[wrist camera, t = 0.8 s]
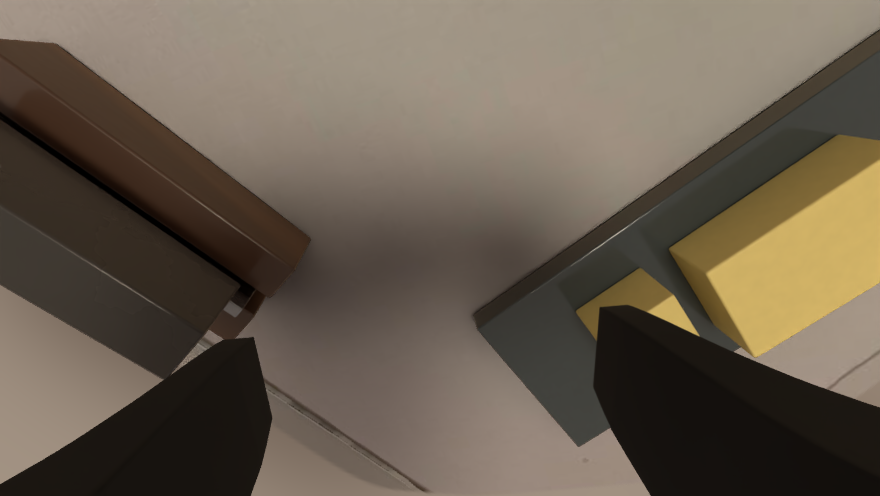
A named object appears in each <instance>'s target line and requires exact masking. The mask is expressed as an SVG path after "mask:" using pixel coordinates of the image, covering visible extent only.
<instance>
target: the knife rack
mask: <svg viewBox="0 0 880 496" xmlns="http://www.w3.org/2000/svg"><path fill="white" fill-rule="evenodd" d="M0 112H1V113H2V114H4V115H5V116H6V117H8V118H9V119H11V120H12V121H14V122H15V123H17V124H18V125H19V126H21V127H22V128H24V129H25V130H27V131H28V132H30V133H31V134H32V135H34V136H35V137H37V138H38V139H40V140H41V141H43V142H44V143H45V144H47V145H48V146H50V147H51V148H53V149H54V150H56V151H57V152H58V153H60V154H61V155H63V156H64V157H66V158H67V159H69V160H70V161H71V162H73V163H74V164H76V165H77V166H79V167H80V168H82V169H83V170H85V171H86V172H87V173H89V174H90V175H92V176H93V177H95V178H96V179H98V180H99V181H100V182H102V183H103V184H105V185H106V186H108V187H109V188H111V189H112V190H113V191H115V192H116V193H118V194H119V195H121V196H122V197H124V198H125V199H126V200H128V201H129V202H131V203H132V204H134V205H135V206H137V207H138V208H139V209H141V210H142V211H144V212H145V213H147V214H148V215H150V216H151V217H152V218H154V219H155V220H157V221H158V222H160V223H161V224H163V225H164V226H166V227H167V228H168V229H170V230H171V231H173V232H174V233H176V234H177V235H179V236H180V237H181V238H183V239H184V240H186V241H187V242H189V243H190V244H192V245H193V246H194V247H196V248H197V249H199V250H200V251H202V252H203V253H205V254H206V255H207V256H209V257H210V258H212V259H213V260H215V261H216V262H218V263H219V264H220V265H222V266H223V267H225V268H226V269H228V270H229V271H231V272H232V273H233V274H235V275H236V276H238V277H239V278H241V279H242V280H244V281H245V282H247V283H248V284H249V285H251V286H252V287H254V288H255V289H256V291H255V292H254V294H253V295H252V297H251V298H250V300H249V301H248V303H247V304H246V306H245V307H244V309H243V310H242V311H241V313H240V314H239V315H238V316H237V317H233V316H232V315H230V314H229V313H227V312H226V311H224V310H223V311H222V312H221V314H220V315H219V316H218V318H217V319H216V320H215V322H214V323H213V324H212V326H211V327H210V328H209V330H210V331H212V332H214V333H215V334H217V335H218V336H220V337H221V338H223V339H225V340H227V339H235V338H236V337H237V336H238V335H239V333H240V332H241V331H242V330H243V329H244V328H245V327H246V325H247V324H248V323H249V322H250V321H251V320H252V319H253V318H254V316H255V315H256V313H257V311H258V310H259V308H260V306H261V304H262V303H263V301H264V299H265V298H266V296H267V297H269V298H270V297H272V296H273V295H274V294H275V292H276V291H277V290H278V289H279V288H280V287H281V286H282V285H283V283H284V282H285V281H286V280H287V279H288V278H289V277H290V275H291V274H292V273H293V272H294V271H295V269H296V267H297V265H298V263H299V262H300V260H301V258H302V256H303V254H304V252H305V250H306V248H307V246H308V245H309V243H310V241H311V239H310V237H308V236H307V235H306V234H304V233H303V232H302V231H300V230H299V229H298V228H297V227H295V226H294V225H293V224H291V223H290V222H289V221H287V220H286V219H285V218H283V217H282V216H281V215H279V214H278V213H277V212H276V211H274V210H273V209H272V208H270V207H269V206H268V205H266V204H265V203H264V202H262V201H261V200H260V199H258V198H257V197H256V196H255V195H253V194H252V193H251V192H249V191H248V190H247V189H245V188H244V187H243V186H241V185H240V184H239V183H237V182H236V181H235V180H234V179H232V178H231V177H230V176H228V175H227V174H226V173H224V172H223V171H222V170H220V169H219V168H218V167H216V166H215V165H214V164H213V163H211V162H210V161H209V160H207V159H206V158H205V157H203V156H202V155H201V154H199V153H198V152H197V151H195V150H194V149H193V148H192V147H190V146H189V145H188V144H186V143H185V142H184V141H182V140H181V139H180V138H178V137H177V136H176V135H174V134H173V133H172V132H171V131H169V130H168V129H167V128H165V127H164V126H163V125H161V124H160V123H159V122H157V121H156V120H155V119H153V118H152V117H151V116H150V115H148V114H147V113H146V112H144V111H143V110H142V109H140V108H139V107H138V106H136V105H135V104H134V103H132V102H131V101H130V100H129V99H127V98H126V97H125V96H123V95H122V94H121V93H119V92H118V91H117V90H115V89H114V88H113V87H111V86H110V85H109V84H107V83H106V82H105V81H104V80H102V79H101V78H100V77H98V76H97V75H96V74H94V73H93V72H92V71H90V70H89V69H88V68H86V67H85V66H84V65H83V64H81V63H80V62H79V61H77V60H76V59H75V58H73V57H72V56H71V55H69V54H68V53H67V52H65V51H64V50H63V49H62V48H60V47H59V46H58V45H56V44H54V43H45V42H33V41H20V40H8V39H0Z"/></svg>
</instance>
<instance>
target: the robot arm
mask: <svg viewBox="0 0 880 496" xmlns="http://www.w3.org/2000/svg"><path fill="white" fill-rule="evenodd" d="M593 388H594V391H595V393H596V395H597V398H598V400H599V403H600V405H601V408H602V410H603V412H604V414H605V417H606V419H607V421H608V423H609V425H610V428H611V430H612V431H613V433H614V435H615V437H616V438H617V440H618V442H619V444H620V445H621V447H622V449H623V450H624V452H625V454H626V455H627V457H628V459H629V460H630V462H631V464H632V465H633V467H634V469H635V470H636V472H637V474H638V475H639V477H640V479H641V480H642V482H643V484H644V485H645V487H646V488H647V490H648V492H649V493H650V495H651V496H880V407H877V406H873V405H870V404H867V403H864V402H861V401H858V400H856V399H853V398H850V397H847V396H844V395H841V394H838V393H836V392H833V391H830V390H827V389H824V388H821V387H818V386H816V385H813V384H810V383H808V382H805V381H802V380H800V379H797V378H794V377H792V376H789V375H787V374H785V373H782V372H780V371H777V370H775V369H772V368H770V367H768V366H765V365H763V364H760V363H758V362H756V361H753V360H751V359H748V358H746V357H744V356H742V355H739V354H737V353H735V352H733V351H730V350H728V349H726V348H724V347H721V346H719V345H717V344H715V343H713V342H711V341H708V340H706V339H704V338H702V337H700V336H698V335H696V334H693V333H691V332H689V331H687V330H685V329H683V328H681V327H679V326H676V325H674V324H672V323H670V322H668V321H666V320H664V319H661V318H659V317H657V316H655V315H653V314H650V313H648V312H646V311H643V310H641V309H638V308H636V307H633V306H630V305H618V306H606V307H599V319H598V331H597V343H596V356H595V368H594V380H593ZM271 422H272V414H271V410H270V406H269V401H268V397H267V393H266V388H265V384H264V380H263V375H262V371H261V367H260V362H259V358H258V353H257V349H256V345H255V340H254V337H250V338H238V339H227V340H222V341H220V342H219V343H217V344H215V345H214V346H212V347H210V348H209V349H207V350H206V351H204V352H203V353H201V354H200V355H198V356H197V357H196V358H194V359H193V360H191V361H190V362H188V363H187V364H186V365H184V366H183V367H181V368H180V369H179V370H177V371H176V372H175V373H173V374H172V375H170V376H169V377H167V378H166V379H165V380H163V381H162V382H160V383H159V384H158V385H156V386H155V387H153V388H152V389H150V390H149V391H148V392H146V393H145V394H143V395H142V396H141V397H139V398H138V399H136V400H135V401H133V402H132V403H130V404H129V405H128V406H126V407H124V408H123V409H121V410H120V411H118V412H117V413H115V414H114V415H112V416H111V417H109V418H108V419H106V420H105V421H103V422H102V423H100V424H99V425H97V426H96V427H94V428H93V429H91V430H90V431H88V432H87V433H85V434H84V435H82V436H80V437H79V438H77V439H76V440H74V441H73V442H71V443H70V444H68V445H66V446H65V447H63V448H61V449H60V450H58V451H57V452H55V453H53V454H52V455H50V456H48V457H47V458H45V459H44V460H42V461H40V462H38V463H37V464H35V465H33V466H31V467H29V468H28V469H26V470H24V471H23V472H21V473H19V474H17V475H16V476H14V477H12V478H10V479H9V480H7V481H5V482H3V483H2V484H0V496H251V493H252V490H253V487H254V485H255V482H256V479H257V477H258V474H259V471H260V468H261V465H262V461H263V457H264V453H265V449H266V445H267V440H268V435H269V431H270V427H271Z"/></svg>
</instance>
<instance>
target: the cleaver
mask: <svg viewBox="0 0 880 496" xmlns="http://www.w3.org/2000/svg"><path fill="white" fill-rule="evenodd" d="M0 285H1V286H3V287H5V288H7V289H8V290H10V291H11V292H13V293H15V294H17V295H18V296H20V297H22V298H23V299H25V300H27V301H29V302H30V303H32V304H34V305H35V306H37V307H39V308H41V309H42V310H44V311H46V312H48V313H49V314H51V315H53V316H54V317H56V318H58V319H60V320H61V321H63V322H65V323H66V324H68V325H70V326H72V327H73V328H75V329H77V330H78V331H80V332H82V333H84V334H85V335H87V336H89V337H91V338H93V339H94V340H96V341H97V342H99V343H101V344H103V345H104V346H106V347H108V348H109V349H111V350H113V351H115V352H117V353H118V354H120V355H122V356H123V357H125V358H127V359H129V360H130V361H132V362H134V363H136V364H137V365H139V366H141V367H142V368H144V369H146V370H147V371H149V372H151V373H152V374H154V375H156V376H158V377H159V378H161V379H164V380H165V379H166V378H167V377H169V376H170V375H171V374H172V372H173V371H174V370H175V369H176V368H177V367H178V365H179V364H180V363H181V362H182V361H183V360H184V358H185V357H186V356H187V355H188V354H189V353H190V351H191V350H192V349H193V348H194V347H195V346H196V344H197V343H198V342H199V341H200V340H201V339H202V337H203V336H204V335H205V334H206V332H207V331H208V330H209V328H210V327H211V326H212V324H213V323H214V322H215V320H216V319H217V318H218V316H219V315H220V314H221V312H222V311H223V310H224V311H226V312H227V313H229V314H230V315H232V316H233V317H237V316H238V315H239V314H240V313H241V311H242V310H243V309H244V307H245V306H246V304H247V303H248V301H249V300H250V298H251V297H252V295H253V294H254V292H255V291H256V289H255V288H254V287H252V286H251V285H249V284H248V283H247V282H245V281H244V280H242V279H241V278H239V277H238V276H236V275H235V274H233V273H232V272H231V271H229V270H228V269H226V268H225V267H223V266H222V265H220V264H219V263H218V262H216V261H215V260H213V259H212V258H210V257H209V256H207V255H206V254H205V253H203V252H202V251H200V250H199V249H197V248H196V247H194V246H193V245H192V244H190V243H189V242H187V241H186V240H184V239H183V238H181V237H180V236H179V235H177V234H176V233H174V232H173V231H171V230H170V229H168V228H167V227H166V226H164V225H163V224H161V223H160V222H158V221H157V220H155V219H154V218H152V217H151V216H150V215H148V214H147V213H145V212H144V211H142V210H141V209H139V208H138V207H137V206H135V205H134V204H132V203H131V202H129V201H128V200H126V199H125V198H124V197H122V196H121V195H119V194H118V193H116V192H115V191H113V190H112V189H111V188H109V187H108V186H106V185H105V184H103V183H102V182H100V181H99V180H98V179H96V178H95V177H93V176H92V175H90V174H89V173H87V172H86V171H85V170H83V169H82V168H80V167H79V166H77V165H76V164H74V163H73V162H71V161H70V160H69V159H67V158H66V157H64V156H63V155H61V154H60V153H58V152H57V151H56V150H54V149H53V148H51V147H50V146H48V145H47V144H45V143H44V142H43V141H41V140H40V139H38V138H37V137H35V136H34V135H32V134H31V133H30V132H28V131H27V130H25V129H24V128H22V127H21V126H19V125H18V124H17V123H15V122H14V121H12V120H11V119H9V118H8V117H6V116H5V115H4V114H2V113H1V112H0Z"/></svg>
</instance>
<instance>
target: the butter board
mask: <svg viewBox="0 0 880 496" xmlns="http://www.w3.org/2000/svg"><path fill="white" fill-rule="evenodd" d="M836 135H846V136H853V137H860V138H866V139H873V140H880V31H878V32H877V33H875V34H874V35H873V36H871V37H870V38H868V39H867V40H865V41H864V42H863V43H861V44H860V45H858V46H857V47H855V48H854V49H853V50H851V51H850V52H848V53H847V54H845V55H844V56H843V57H841V58H840V59H838V60H837V61H835V62H834V63H833V64H831V65H830V66H828V67H827V68H825V69H824V70H823V71H821V72H820V73H818V74H817V75H815V76H814V77H813V78H811V79H810V80H808V81H807V82H805V83H804V84H803V85H801V86H800V87H798V88H797V89H795V90H794V91H793V92H791V93H790V94H788V95H787V96H785V97H784V98H783V99H781V100H780V101H778V102H777V103H775V104H774V105H773V106H771V107H770V108H768V109H767V110H765V111H764V112H763V113H761V114H760V115H758V116H757V117H755V118H754V119H753V120H751V121H750V122H748V123H747V124H745V125H744V126H743V127H741V128H740V129H738V130H737V131H735V132H734V133H733V134H731V135H730V136H728V137H727V138H725V139H724V140H723V141H721V142H720V143H718V144H717V145H715V146H714V147H713V148H711V149H710V150H708V151H707V152H705V153H704V154H703V155H701V156H700V157H698V158H697V159H695V160H694V161H693V162H691V163H690V164H688V165H687V166H685V167H684V168H682V169H681V170H680V171H678V172H677V173H675V174H674V175H672V176H671V177H670V178H668V179H667V180H665V181H664V182H662V183H661V184H660V185H658V186H657V187H655V188H654V189H652V190H651V191H650V192H648V193H647V194H645V195H644V196H642V197H641V198H640V199H638V200H637V201H635V202H634V203H632V204H631V205H630V206H628V207H627V208H625V209H624V210H622V211H621V212H620V213H618V214H617V215H615V216H614V217H612V218H611V219H610V220H608V221H607V222H605V223H604V224H602V225H601V226H600V227H598V228H597V229H595V230H594V231H592V232H591V233H590V234H588V235H587V236H585V237H584V238H582V239H581V240H580V241H578V242H577V243H575V244H574V245H572V246H571V247H570V248H568V249H567V250H565V251H564V252H562V253H561V254H560V255H558V256H557V257H555V258H554V259H552V260H551V261H550V262H548V263H547V264H545V265H544V266H542V267H541V268H540V269H538V270H537V271H535V272H534V273H532V274H531V275H530V276H528V277H527V278H525V279H524V280H522V281H521V282H520V283H518V284H517V285H515V286H514V287H512V288H511V289H510V290H508V291H507V292H505V293H504V294H502V295H501V296H500V297H498V298H497V299H495V300H494V301H492V302H491V303H490V304H488V305H487V306H485V307H484V308H482V309H481V310H480V311H478V312H477V313H475V314H474V315H473V317H474V320H475V323H476V327H477V330H478V331H479V332H480V333H481V335H482V336H483V337H484V338H485V339H486V340H487V342H488V343H489V344H490V345H491V346H492V347H493V349H494V350H495V351H496V352H497V353H498V354H499V356H500V357H501V358H502V359H503V360H504V361H505V363H506V364H507V365H508V366H509V367H510V368H511V369H512V371H513V372H514V373H515V374H516V375H517V376H518V378H519V379H520V380H521V381H522V382H523V383H524V385H525V386H526V387H527V388H528V389H529V390H530V392H531V393H532V394H533V395H534V396H535V397H536V399H537V400H538V401H539V402H540V403H541V404H542V406H543V407H544V408H545V409H546V410H547V411H548V412H549V414H550V415H551V416H552V417H553V418H554V419H555V421H556V422H557V423H558V424H559V425H560V426H561V428H562V429H563V430H564V431H565V432H566V433H567V435H568V436H569V437H570V438H571V439H572V440H573V442H574V443H575V444H576V445H577V446H578V447H580V446H582V445H583V444H585V443H586V442H588V441H590V440H591V439H593V438H594V437H596V436H598V435H599V434H601V433H603V432H604V431H606V430H607V429H609V428H610V425H609V423H608V421H607V419H606V417H605V414H604V412H603V410H602V408H601V405H600V403H599V400H598V398H597V395H596V393H595V391H594V388H593V380H594V368H595V356H596V343H597V341H596V340H595V338H594V337H593V335H592V334H591V333H590V331H589V330H588V329H587V327H586V326H585V324H584V323H583V322H582V320H581V319H580V318H579V316H578V315H577V313H576V310H577V309H579V308H580V307H582V306H583V305H585V304H586V303H588V302H589V301H591V300H592V299H594V298H595V297H597V296H598V295H600V294H601V293H603V292H604V291H606V290H607V289H609V288H610V287H612V286H613V285H615V284H616V283H618V282H619V281H621V280H622V279H624V278H625V277H627V276H628V275H629V274H631V273H632V272H634V271H635V270H637V269H638V268H641V269H643V270H644V271H645V272H646V273H648V274H649V275H650V276H651V277H652V278H654V279H655V280H656V281H657V282H659V283H660V284H661V285H662V286H663V287H665V288H666V289H667V290H668V291H670V292H671V293H672V294H673V295H674V296H675V297H676V299H677V301H678V302H679V304H680V305H681V307H682V309H683V310H684V312H685V313H686V315H687V317H688V318H689V320H690V321H691V323H692V325H693V326H694V328H695V329H696V331H697V333H698V334H699V336H700V337H702V338H704V339H706V340H708V341H711V342H713V343H715V344H717V345H719V346H721V347H724V348H726V349H728V350H730V351H733V352H734V351H736V350H737V349H739V348H740V346H739V345H738V344H737V343H736V342H734V341H733V340H732V339H731V338H729V337H728V336H727V335H726V334H724V333H723V332H722V331H721V330H719V329H718V328H717V327H716V326H715V325H714V324H713V322H712V321H711V319H710V317H709V316H708V314H707V312H706V311H705V309H704V307H703V306H702V304H701V302H700V301H699V299H698V297H697V296H696V294H695V292H694V291H693V289H692V287H691V286H690V284H689V283H688V281H687V279H686V278H685V276H684V274H683V273H682V271H681V269H680V268H679V266H678V264H677V263H676V261H675V259H674V258H673V256H672V254H671V253H670V251H669V248H670V247H671V246H673V245H674V244H676V243H677V242H679V241H680V240H682V239H683V238H685V237H686V236H688V235H689V234H691V233H692V232H694V231H695V230H697V229H698V228H700V227H701V226H703V225H704V224H706V223H707V222H709V221H710V220H711V219H713V218H714V217H716V216H717V215H719V214H720V213H722V212H723V211H725V210H726V209H728V208H729V207H731V206H732V205H734V204H735V203H737V202H738V201H740V200H741V199H743V198H744V197H746V196H747V195H749V194H750V193H752V192H753V191H755V190H756V189H758V188H759V187H761V186H762V185H764V184H765V183H767V182H768V181H769V180H771V179H772V178H774V177H775V176H777V175H778V174H780V173H781V172H783V171H784V170H786V169H787V168H789V167H790V166H792V165H793V164H795V163H796V162H798V161H799V160H801V159H802V158H804V157H805V156H807V155H808V154H810V153H811V152H813V151H814V150H816V149H817V148H819V147H820V146H822V145H823V144H825V143H826V142H827V141H829V140H830V139H832V138H833V137H835V136H836Z"/></svg>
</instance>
